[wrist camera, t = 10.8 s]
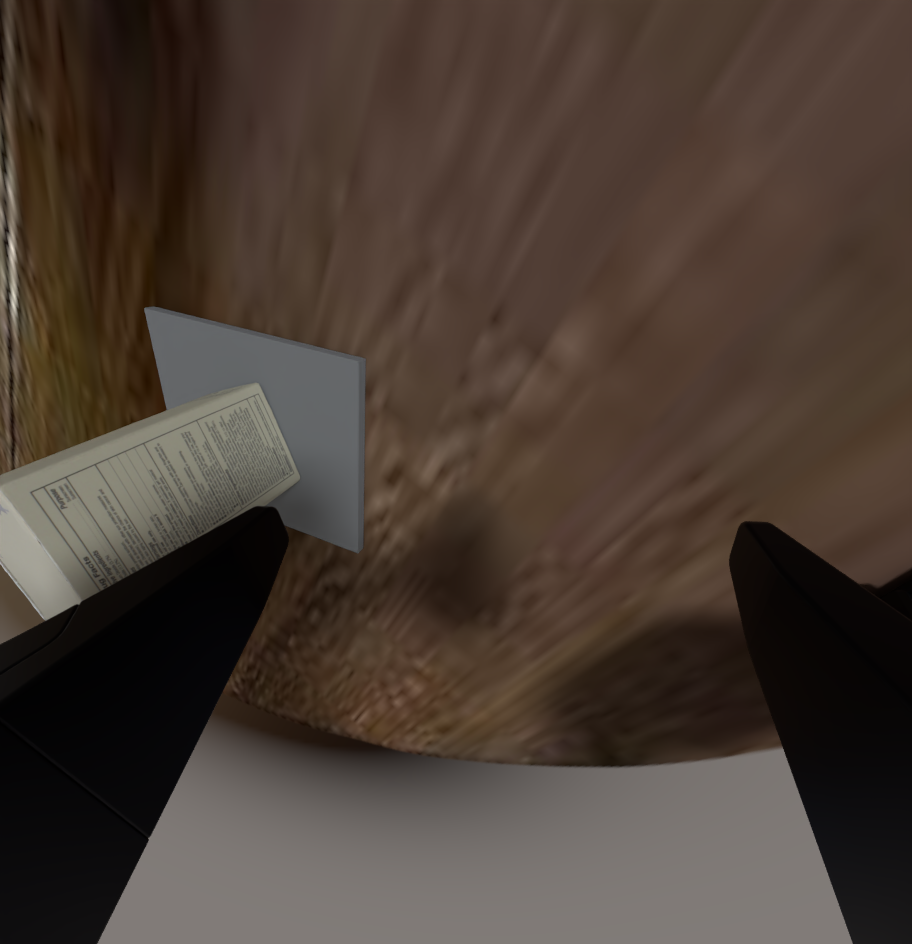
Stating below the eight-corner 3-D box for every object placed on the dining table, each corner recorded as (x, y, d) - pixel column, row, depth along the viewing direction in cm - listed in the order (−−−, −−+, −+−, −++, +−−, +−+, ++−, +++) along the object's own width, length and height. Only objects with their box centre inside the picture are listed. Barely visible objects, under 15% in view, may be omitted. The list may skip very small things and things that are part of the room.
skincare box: (210, 392, 27) (-62, 489, 17) (263, 379, 25) (-9, 481, 15) (255, 488, 29) (39, 623, 19) (307, 483, 27) (96, 632, 17)
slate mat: (365, 358, 22) (358, 361, 22) (363, 547, 28) (358, 553, 28) (154, 306, 26) (144, 307, 26) (191, 483, 32) (184, 486, 32)
